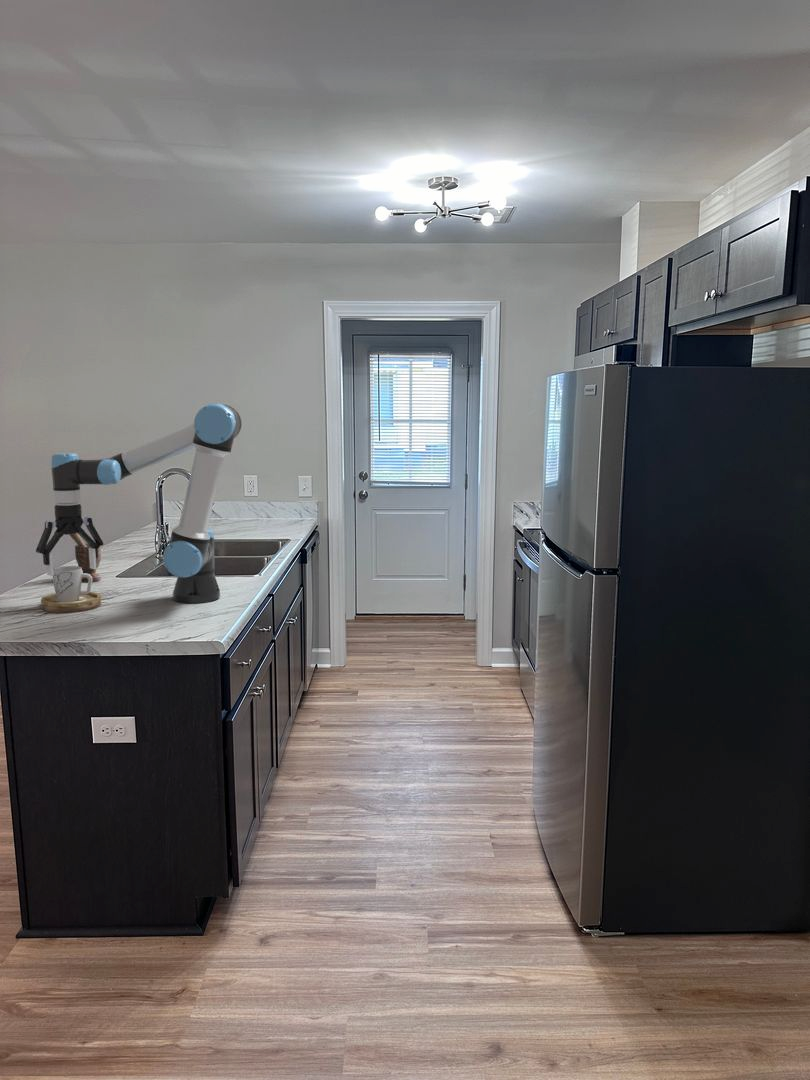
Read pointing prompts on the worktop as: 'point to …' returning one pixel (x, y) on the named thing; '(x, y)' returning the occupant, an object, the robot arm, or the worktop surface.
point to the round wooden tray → (71, 603)
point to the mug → (70, 583)
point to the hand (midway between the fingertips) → (72, 572)
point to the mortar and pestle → (85, 558)
